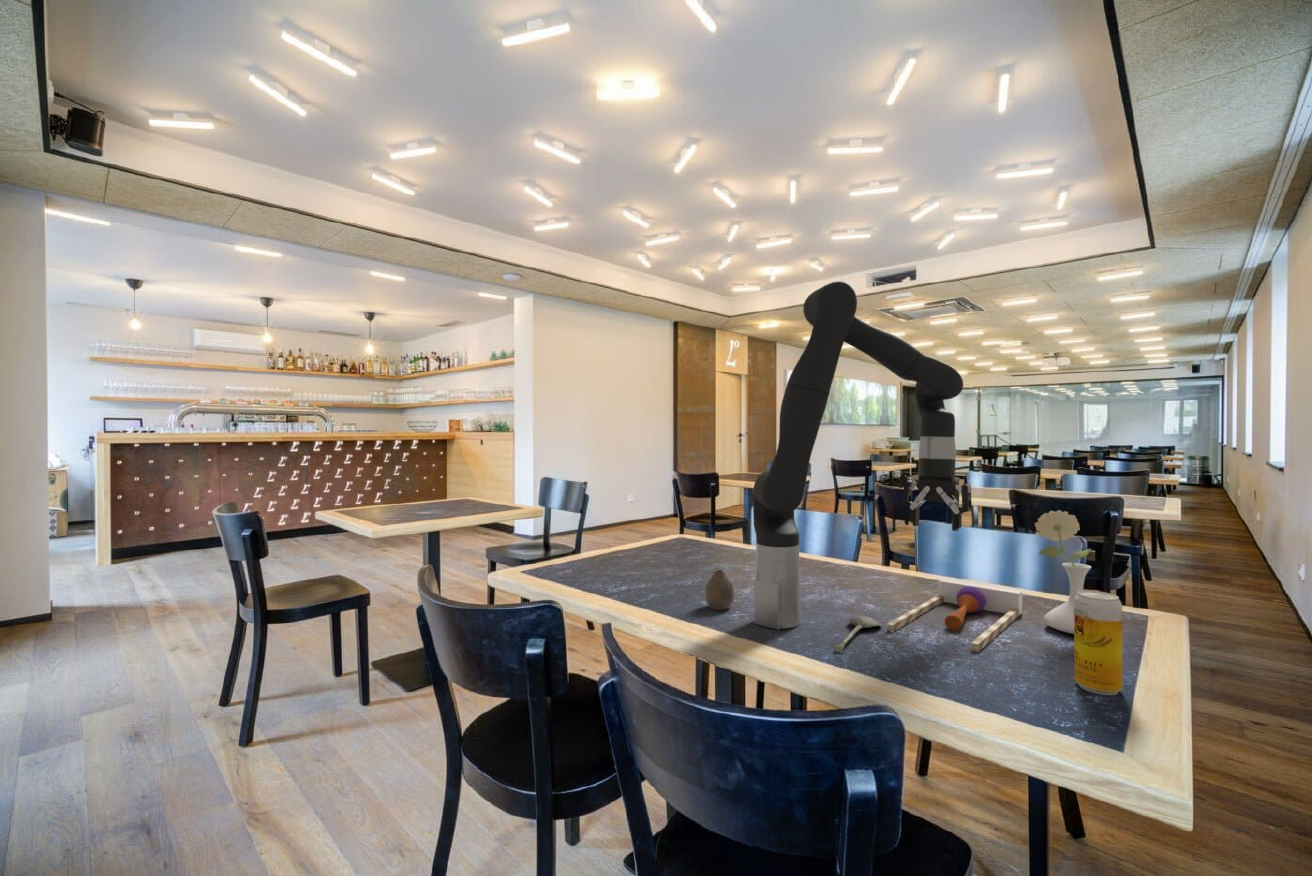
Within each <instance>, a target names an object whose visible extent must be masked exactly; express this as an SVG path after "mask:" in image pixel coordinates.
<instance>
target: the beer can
mask: <svg viewBox="0 0 1312 876" xmlns="http://www.w3.org/2000/svg"><path fill="white" fill-rule="evenodd" d="M1073 635H1074V636H1073V637H1074V640H1073V641H1074V646H1073V647H1074V656H1073V657H1074V663H1073V664H1074V669H1073V670H1074V680H1075V681H1076V683H1077V684H1078V686H1079V687H1080V688H1081V689H1083V690H1085V691H1087V692H1090V693H1092V694H1093V693H1094V694H1098V695H1102V696H1116V695H1118V694H1119V692H1120V691H1122V690H1123V604H1122V602H1121V600H1120V597H1119V596H1118V595H1116V594H1114V593H1113V594H1112V593H1110V592H1104V591H1098V590H1083V591H1078V592H1077V595H1076V597H1075V598H1074V634H1073Z"/></svg>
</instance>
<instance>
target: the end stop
mask: <svg viewBox="0 0 1312 876" xmlns="http://www.w3.org/2000/svg"><path fill="white" fill-rule="evenodd" d="M937 582H938V583H937V584H938V587H937V588H938V591H937V592H938V593H937V596H938V595H941V596H944V602H943V603H946V602H949V603H948V604H951V603H954V604H953V605H957V604H958V603H957V599H956V595H957V593H958V591H959V590H960V589H962V588H963V587H967V586H971V587H975V588H977V589H979V590H980V591H981V592H982V593H983V594H984V596H985V598H986V604H985V606H984V608H983V609H982V610H984V611H991V612H995V613H1002V614H1006V613H1008V612H1009V611H1010V610H1011V609H1012V608H1015V609H1019V616H1021V615H1022V614H1023V591H1021V590H1016V589H1010V588H1003V587H998V586H990V585H984V584H979V583H973V582H972V583H971V582H965V581H959V580H953V579H947V578H941V579H940V580H938V581H937ZM1021 613H1022V614H1021Z"/></svg>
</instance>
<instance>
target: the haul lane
mask: <svg viewBox="0 0 1312 876" xmlns="http://www.w3.org/2000/svg"><path fill="white" fill-rule="evenodd" d="M943 601H944V596H941V595H938V594H937V595H935V596H934V597H933V598H930V599H929V600H926V601H924V602H923V603H922V604H920V605H917V606H916V607H915V608H913V609H911V610H909V611H907V612H905V613H903V614H902V615H900V616H898V617H897V618H895V619H894V620H891V621H890V622H888V623H886V631H887V630H888V631H887V632H889V631H892V632H891V633H894V632H895V631H894V630H896V629H898V628H899V627H901V628H903V627H904V626H906V625H907V623H908V624H909V623H910V622H911V623H912V620H913V621H914V620H916V619H918V618H919V617H921V616H922V614H923V613H924V612H926V613H928V612H929V611H931V610H933V609H934V608H936V607H938V606H939V605H941V604H943V603H944V602H943ZM942 602H943V603H942ZM940 603H941V604H940ZM938 604H939V605H938ZM937 605H938V606H937ZM935 606H936V607H935ZM933 607H934V608H933ZM932 608H933V609H932ZM930 609H931V610H930ZM927 611H928V612H927ZM924 614H925V613H924ZM924 614H923V615H924ZM920 615H921V616H920ZM918 616H919V617H918ZM917 617H918V618H917ZM1018 617H1020V615H1019V609H1015V608H1012V609H1011V610H1010V611H1009V612H1008V613H1004V615H1003V616H1001V617H1000V618H999V619H997V621H995V622H994V623H993V624H992V625H990V627H988V628H987V629H986V630H984V631H983V632H982V633H981V634H980V635H978V636H977V637H976V638H975V639H974V640H972V641H971V642H970V646H971V647H970V649H971V650H970V651H972V652H975V653H979V652H980V651H981V650H983V649H984V648H985V647H986V646H987V645H988V644H990V642H992V641H993V640H994V639H995V638H996V637H997V636H998V635H999V634H1000V633H1002V632H1003V631H1004V630H1005V629H1007V628H1008V626H1009V625H1010V624H1012V623H1013V622H1014V621H1015V620H1016V619H1017V618H1018ZM915 618H916V619H915ZM902 626H903V627H902ZM899 629H900V628H899ZM899 629H898V630H899ZM893 631H894V632H893ZM896 631H897V630H896Z"/></svg>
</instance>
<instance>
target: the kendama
mask: <svg viewBox="0 0 1312 876" xmlns="http://www.w3.org/2000/svg"><path fill="white" fill-rule="evenodd" d="M956 599H957V603H958V605H957V606H958V608H957V610H954V611H953V612H952V613H950V614H949V615H947V616H946V617H945V619H944V625H945V627H946V628H947V629H948V628H950V629H949V630H952V629H955V630H954V631H957V630H958V631H960V630H961V629H962V627H963V624H964V621H965V618H966V617H965V616H966V614H967V613H968V614H972V613H973V614H976V613H980V612H981V611H983V610H984V609H983V608H984V606H985V604H986V598H985V596H984V594H983V593H982V592H981V591H980V590H979V589H977V588H975V587H971V586H967V587H963V588H962V589H960V590H959V591H958V593H957V595H956Z"/></svg>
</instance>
